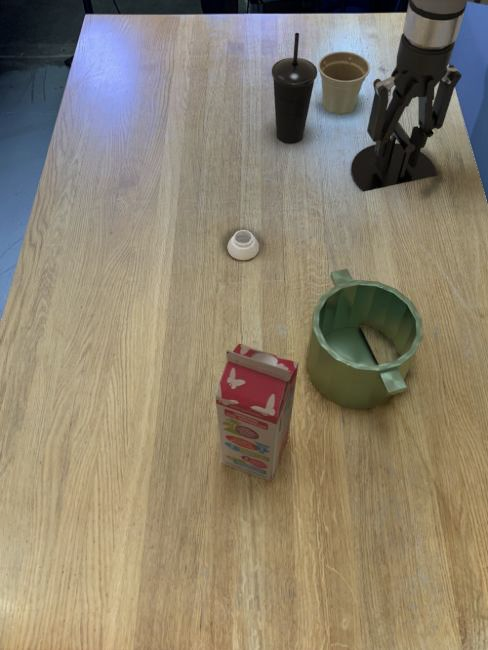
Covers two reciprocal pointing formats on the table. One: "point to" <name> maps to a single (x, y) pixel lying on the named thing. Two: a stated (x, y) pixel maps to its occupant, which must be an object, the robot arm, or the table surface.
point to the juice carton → (255, 409)
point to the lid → (391, 164)
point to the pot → (360, 342)
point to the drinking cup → (292, 95)
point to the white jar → (243, 245)
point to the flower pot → (342, 80)
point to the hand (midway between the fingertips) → (395, 165)
